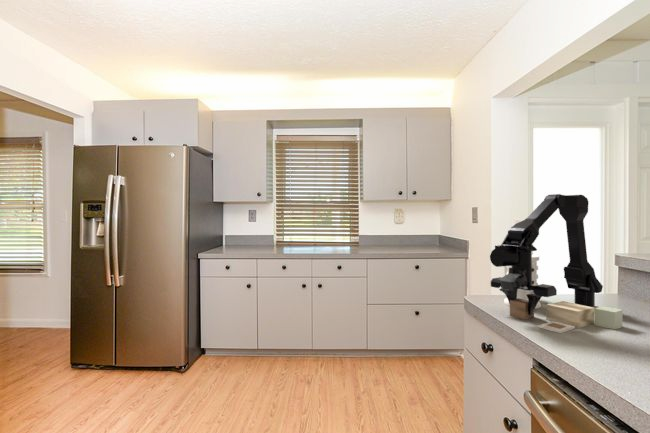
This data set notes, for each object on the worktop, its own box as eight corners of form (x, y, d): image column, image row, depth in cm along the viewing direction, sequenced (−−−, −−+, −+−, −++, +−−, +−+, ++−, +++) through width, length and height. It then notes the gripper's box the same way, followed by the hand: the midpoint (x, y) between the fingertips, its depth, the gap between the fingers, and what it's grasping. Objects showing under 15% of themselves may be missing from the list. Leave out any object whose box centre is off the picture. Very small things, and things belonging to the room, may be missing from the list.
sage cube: (602, 322, 108) (602, 306, 108) (622, 326, 104) (622, 309, 104) (594, 325, 105) (594, 308, 105) (615, 329, 101) (615, 312, 101)
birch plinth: (563, 316, 115) (563, 301, 115) (594, 324, 107) (594, 307, 107) (546, 320, 111) (546, 304, 111) (577, 328, 103) (577, 311, 103)
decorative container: (507, 299, 137) (506, 253, 137) (542, 303, 130) (541, 254, 130) (501, 305, 127) (501, 256, 127) (539, 310, 121) (539, 258, 120)
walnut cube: (518, 313, 118) (518, 298, 118) (533, 316, 114) (533, 301, 114) (509, 315, 116) (509, 300, 116) (525, 319, 111) (525, 303, 111)
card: (552, 322, 107) (552, 320, 107) (574, 328, 102) (574, 326, 102) (538, 327, 103) (538, 325, 103) (560, 333, 98) (560, 331, 98)
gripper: (480, 263, 118) (480, 309, 119) (537, 271, 102) (537, 324, 103) (500, 261, 124) (500, 305, 124) (557, 267, 108) (557, 318, 108)
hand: (521, 312), depth 115 cm, fingers closed on walnut cube, 5 cm apart
